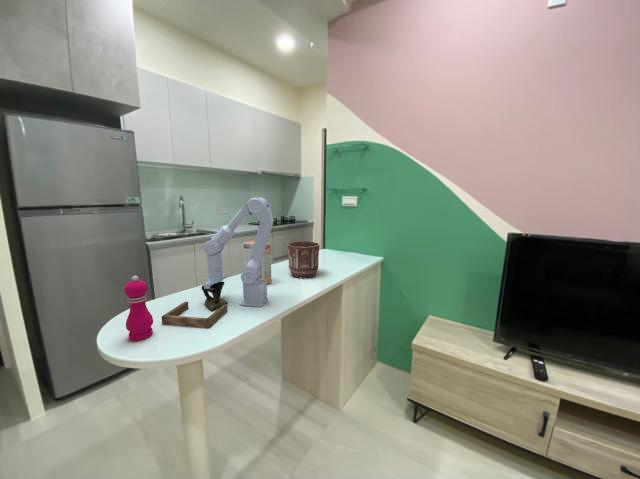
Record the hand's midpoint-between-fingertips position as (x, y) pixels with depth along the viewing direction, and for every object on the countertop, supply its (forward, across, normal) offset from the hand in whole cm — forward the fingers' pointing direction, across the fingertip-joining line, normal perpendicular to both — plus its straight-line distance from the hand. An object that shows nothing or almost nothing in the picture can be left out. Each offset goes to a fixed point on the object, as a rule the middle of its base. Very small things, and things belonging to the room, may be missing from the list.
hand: (216, 299), depth 112 cm
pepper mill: (+1, +30, -10) cm, 31 cm away
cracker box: (+1, -28, +8) cm, 29 cm away
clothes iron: (+1, +3, 0) cm, 4 cm away
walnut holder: (+1, +14, 0) cm, 14 cm away
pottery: (+1, -44, +29) cm, 52 cm away
